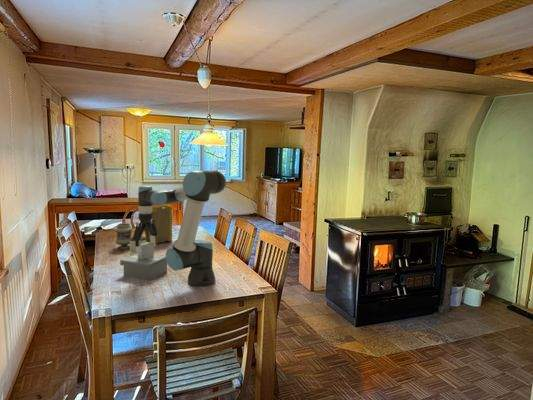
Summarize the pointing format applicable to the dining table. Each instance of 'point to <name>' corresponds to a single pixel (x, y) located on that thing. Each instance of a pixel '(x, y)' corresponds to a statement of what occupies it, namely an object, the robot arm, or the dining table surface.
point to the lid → (148, 262)
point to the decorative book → (161, 223)
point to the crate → (145, 270)
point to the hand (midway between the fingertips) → (145, 249)
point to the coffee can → (132, 245)
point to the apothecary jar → (123, 235)
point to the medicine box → (146, 251)
